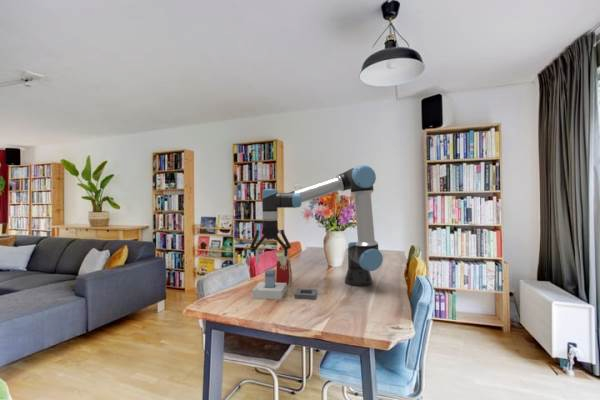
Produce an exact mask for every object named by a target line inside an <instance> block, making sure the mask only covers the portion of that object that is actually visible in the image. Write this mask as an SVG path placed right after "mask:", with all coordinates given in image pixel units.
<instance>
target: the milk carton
mask: <svg viewBox="0 0 600 400" xmlns="http://www.w3.org/2000/svg"><path fill="white" fill-rule="evenodd" d="M283 250H284V249H281V250H274V252H275V254H276V267H275V268H276V269H275V283H286V287H290V286H291V284H292V283H293V272H292V266H291V264H292V263H291V259H290V255H289V252H288V250H289V249H287V256H285V263H283Z"/></svg>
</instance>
